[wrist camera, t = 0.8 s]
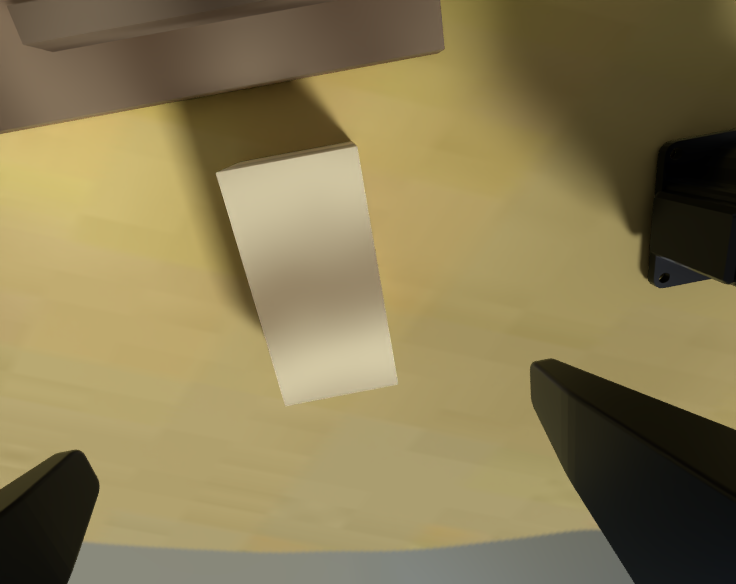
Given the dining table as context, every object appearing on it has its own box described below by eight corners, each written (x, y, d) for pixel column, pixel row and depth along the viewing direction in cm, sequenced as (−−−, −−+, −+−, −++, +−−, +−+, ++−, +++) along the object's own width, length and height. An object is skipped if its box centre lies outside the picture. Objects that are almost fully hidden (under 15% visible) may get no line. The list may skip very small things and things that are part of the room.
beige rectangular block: (240, 161, 17) (215, 172, 13) (351, 140, 17) (357, 146, 13) (293, 354, 21) (285, 406, 17) (385, 336, 21) (398, 384, 17)
